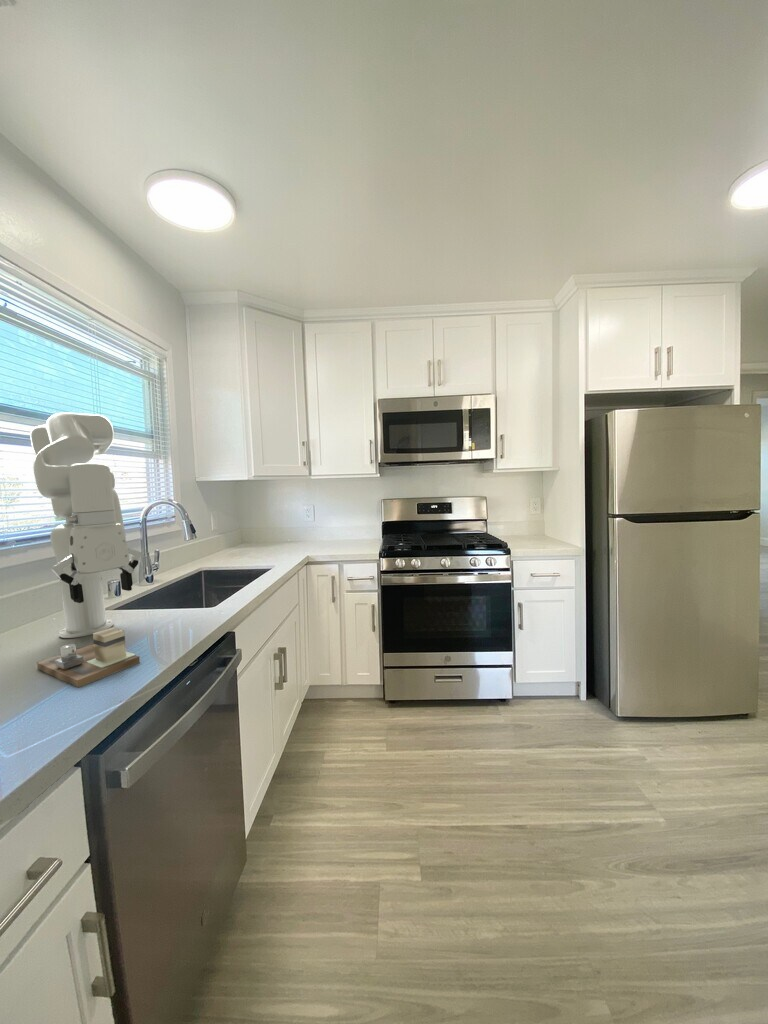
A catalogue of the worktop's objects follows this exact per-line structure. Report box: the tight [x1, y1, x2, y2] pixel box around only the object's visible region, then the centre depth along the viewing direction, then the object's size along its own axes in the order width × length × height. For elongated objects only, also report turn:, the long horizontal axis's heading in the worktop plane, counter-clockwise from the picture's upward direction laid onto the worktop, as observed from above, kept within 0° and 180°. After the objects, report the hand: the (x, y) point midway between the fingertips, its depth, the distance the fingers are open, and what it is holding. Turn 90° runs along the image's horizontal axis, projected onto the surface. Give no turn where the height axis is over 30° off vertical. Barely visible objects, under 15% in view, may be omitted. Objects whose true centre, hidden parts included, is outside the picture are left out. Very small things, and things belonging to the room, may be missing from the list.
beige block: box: [92, 627, 127, 663], centre depth 90 cm, size 5×4×6 cm
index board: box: [36, 643, 141, 688], centre depth 90 cm, size 20×12×2 cm, turn 59°
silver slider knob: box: [55, 643, 84, 670], centre depth 87 cm, size 4×4×4 cm
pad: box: [86, 650, 137, 668], centre depth 90 cm, size 7×7×1 cm
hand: (103, 595), depth 89 cm, fingers open, 9 cm apart
